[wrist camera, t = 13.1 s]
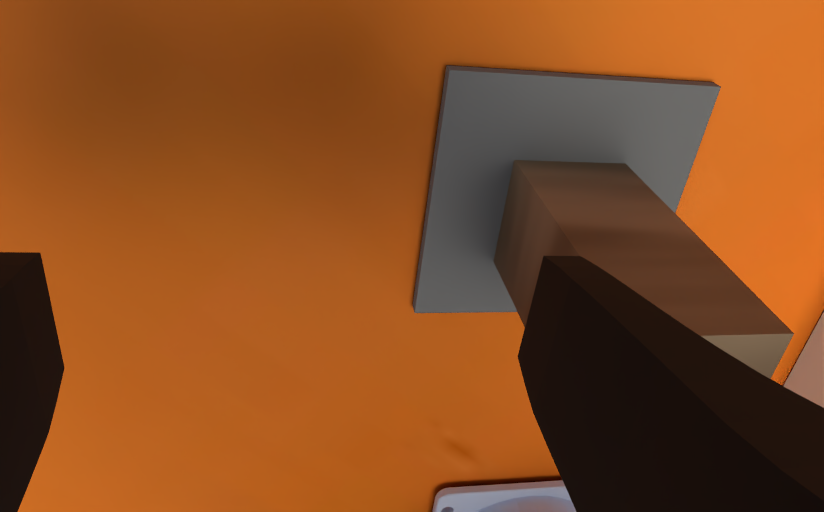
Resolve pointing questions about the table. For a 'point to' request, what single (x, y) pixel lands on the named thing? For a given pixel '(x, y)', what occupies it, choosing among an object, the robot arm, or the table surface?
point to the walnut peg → (630, 253)
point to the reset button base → (810, 368)
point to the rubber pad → (539, 141)
